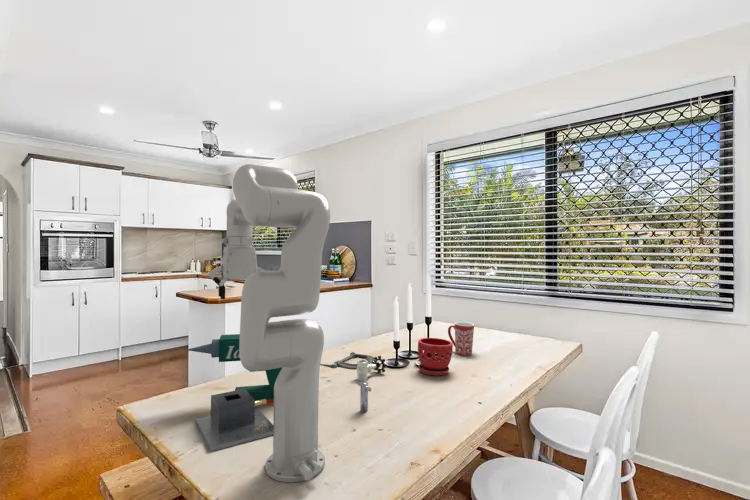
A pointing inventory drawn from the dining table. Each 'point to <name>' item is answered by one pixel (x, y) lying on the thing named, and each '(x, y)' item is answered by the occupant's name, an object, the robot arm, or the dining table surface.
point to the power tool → (229, 351)
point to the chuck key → (364, 396)
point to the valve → (369, 368)
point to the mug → (462, 337)
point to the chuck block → (233, 420)
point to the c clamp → (352, 355)
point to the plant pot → (434, 355)
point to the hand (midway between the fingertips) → (238, 297)
